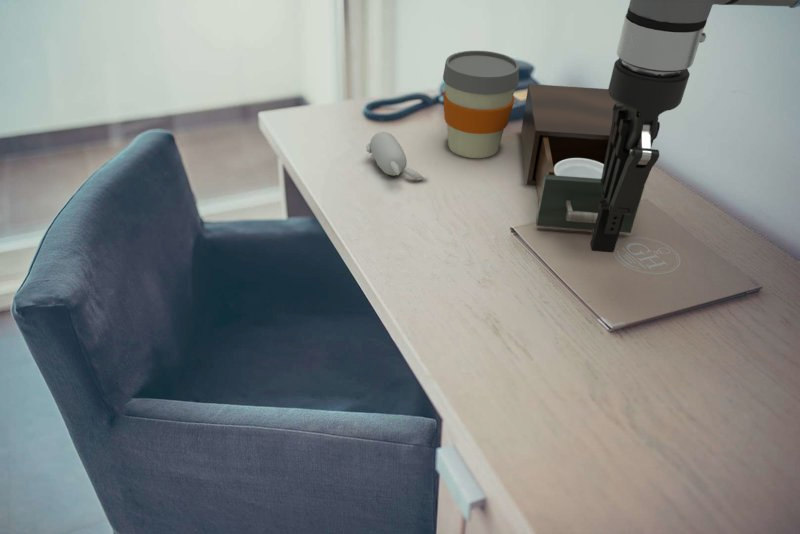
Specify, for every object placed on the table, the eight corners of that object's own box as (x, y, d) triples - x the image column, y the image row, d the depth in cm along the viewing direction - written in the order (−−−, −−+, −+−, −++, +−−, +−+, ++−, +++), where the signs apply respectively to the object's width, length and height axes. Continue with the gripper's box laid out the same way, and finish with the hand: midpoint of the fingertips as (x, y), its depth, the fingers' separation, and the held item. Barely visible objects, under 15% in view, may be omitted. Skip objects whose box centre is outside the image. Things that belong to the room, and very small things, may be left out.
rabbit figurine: (357, 139, 107) (381, 183, 100) (381, 119, 106) (406, 162, 99) (378, 158, 112) (402, 202, 105) (401, 139, 111) (427, 182, 103)
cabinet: (617, 191, 103) (632, 136, 97) (526, 184, 104) (535, 130, 98) (600, 139, 118) (612, 89, 112) (520, 133, 119) (528, 83, 113)
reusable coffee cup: (522, 146, 115) (536, 64, 105) (479, 170, 107) (489, 84, 98) (467, 124, 121) (475, 44, 112) (423, 145, 114) (428, 62, 105)
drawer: (636, 250, 89) (651, 202, 84) (538, 243, 90) (548, 195, 85) (611, 173, 106) (622, 129, 101) (529, 167, 107) (536, 123, 102)
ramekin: (609, 216, 93) (616, 190, 91) (548, 208, 95) (553, 182, 92) (606, 186, 100) (613, 161, 98) (549, 179, 102) (554, 154, 99)
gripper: (708, 90, 61) (642, 283, 75) (675, 44, 71) (622, 222, 85) (627, 84, 61) (577, 277, 76) (606, 40, 71) (566, 217, 86)
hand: (601, 248), depth 81 cm, fingers closed
